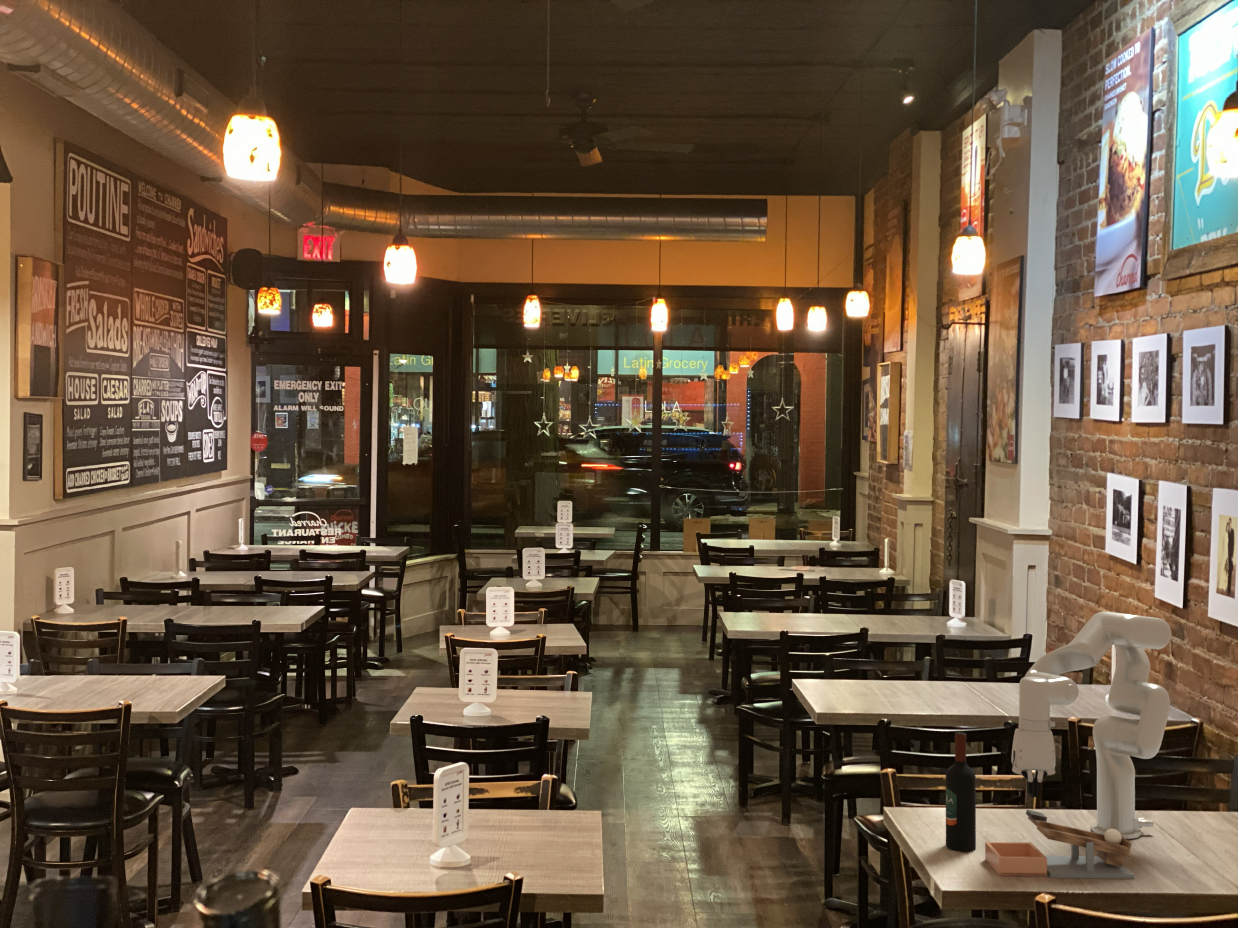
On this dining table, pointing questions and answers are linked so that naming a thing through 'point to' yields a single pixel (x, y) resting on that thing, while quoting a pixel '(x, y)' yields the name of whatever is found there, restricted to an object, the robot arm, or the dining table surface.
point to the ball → (1113, 836)
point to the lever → (1081, 839)
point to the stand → (1084, 866)
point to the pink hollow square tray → (1015, 859)
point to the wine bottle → (960, 801)
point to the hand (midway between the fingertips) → (1033, 796)
